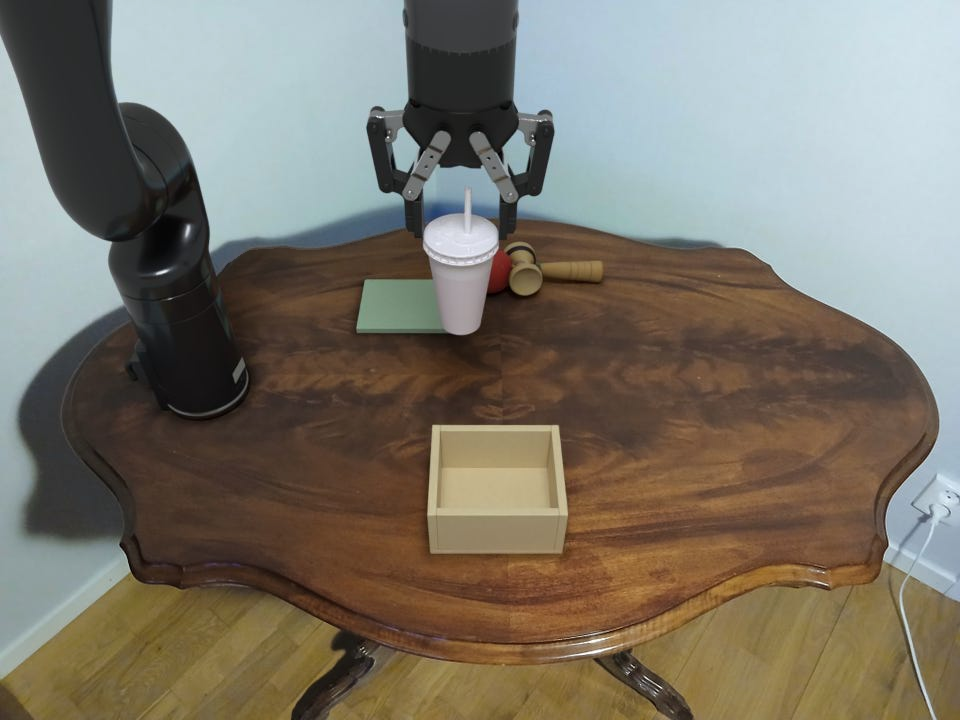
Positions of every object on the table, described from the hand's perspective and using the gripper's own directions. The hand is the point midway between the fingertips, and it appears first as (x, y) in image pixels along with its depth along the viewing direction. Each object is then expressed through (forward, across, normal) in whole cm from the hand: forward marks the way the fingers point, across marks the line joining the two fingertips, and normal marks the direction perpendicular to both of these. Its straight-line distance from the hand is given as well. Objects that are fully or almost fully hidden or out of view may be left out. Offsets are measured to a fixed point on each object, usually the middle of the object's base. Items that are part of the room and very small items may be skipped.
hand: (460, 233), depth 60 cm
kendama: (+27, -9, -28) cm, 40 cm away
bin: (+27, -4, +8) cm, 29 cm away
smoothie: (+10, 0, 0) cm, 10 cm away
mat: (+27, +8, -22) cm, 36 cm away
